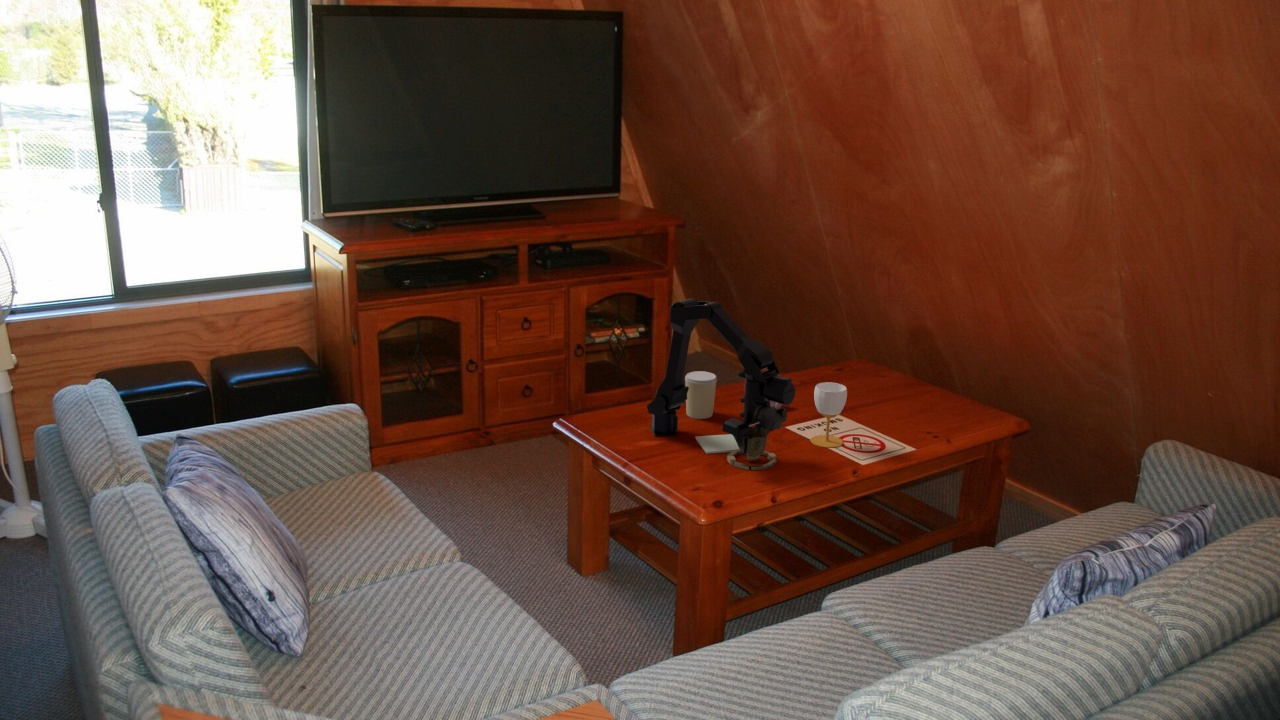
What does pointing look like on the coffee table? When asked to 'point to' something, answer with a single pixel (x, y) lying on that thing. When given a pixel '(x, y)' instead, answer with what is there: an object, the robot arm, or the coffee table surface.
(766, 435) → the cup
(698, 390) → the coffee cup
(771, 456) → the ring
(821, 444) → the cup
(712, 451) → the felt pad
